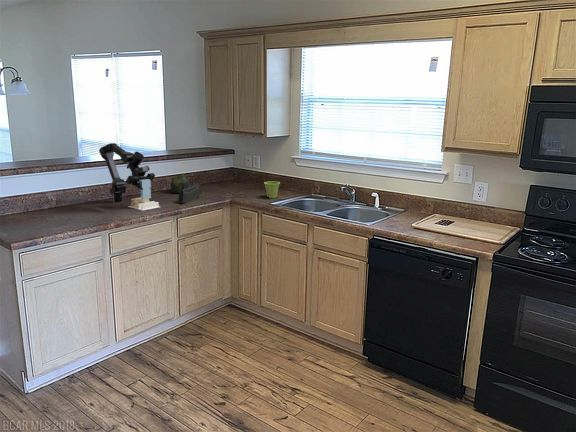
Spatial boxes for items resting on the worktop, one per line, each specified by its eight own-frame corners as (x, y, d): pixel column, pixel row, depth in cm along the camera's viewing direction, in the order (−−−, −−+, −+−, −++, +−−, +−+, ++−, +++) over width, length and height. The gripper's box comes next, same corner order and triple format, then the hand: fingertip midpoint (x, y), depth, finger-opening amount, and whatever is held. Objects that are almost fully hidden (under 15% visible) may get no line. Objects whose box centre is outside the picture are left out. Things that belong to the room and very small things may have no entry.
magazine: (180, 192, 302) (198, 173, 327) (176, 192, 302) (194, 173, 327) (184, 214, 310) (202, 194, 335) (180, 214, 311) (198, 194, 336)
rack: (127, 208, 291) (126, 201, 290) (145, 205, 302) (145, 198, 300) (142, 212, 281) (142, 205, 280) (161, 209, 292) (160, 202, 291)
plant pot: (275, 195, 345) (276, 180, 343) (282, 198, 335) (282, 183, 332) (261, 196, 340) (261, 181, 338) (267, 199, 330) (267, 184, 327)
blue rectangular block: (141, 199, 287) (140, 180, 284) (149, 197, 291) (148, 179, 288) (143, 199, 285) (142, 180, 283) (151, 198, 290) (150, 179, 287)
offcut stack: (131, 206, 291) (130, 199, 290) (143, 203, 299) (143, 197, 298) (137, 207, 287) (137, 200, 286) (150, 205, 295) (150, 198, 294)
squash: (163, 185, 342) (174, 172, 336) (175, 183, 356) (186, 170, 350) (175, 199, 340) (186, 186, 334) (186, 196, 354) (197, 183, 348)
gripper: (127, 162, 278) (139, 183, 274) (152, 160, 292) (164, 179, 289) (120, 174, 284) (132, 193, 281) (145, 171, 299) (157, 189, 295)
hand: (146, 188), depth 286 cm, fingers closed on blue rectangular block, 6 cm apart
